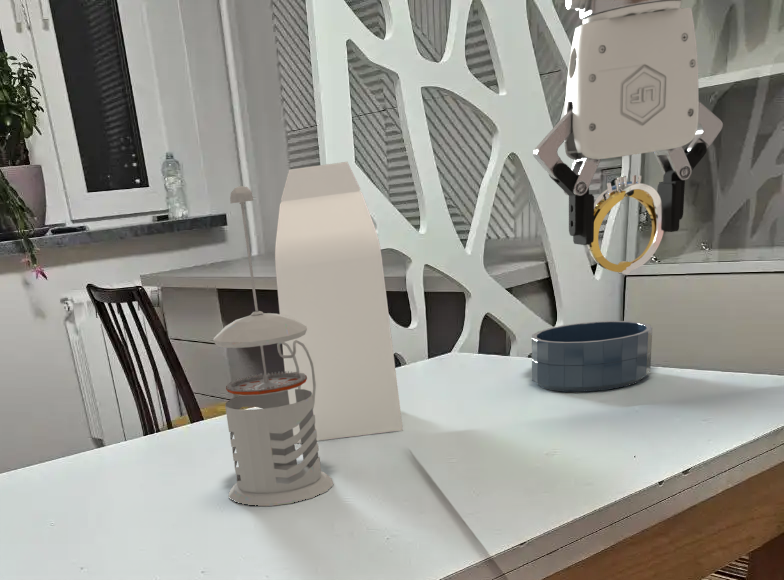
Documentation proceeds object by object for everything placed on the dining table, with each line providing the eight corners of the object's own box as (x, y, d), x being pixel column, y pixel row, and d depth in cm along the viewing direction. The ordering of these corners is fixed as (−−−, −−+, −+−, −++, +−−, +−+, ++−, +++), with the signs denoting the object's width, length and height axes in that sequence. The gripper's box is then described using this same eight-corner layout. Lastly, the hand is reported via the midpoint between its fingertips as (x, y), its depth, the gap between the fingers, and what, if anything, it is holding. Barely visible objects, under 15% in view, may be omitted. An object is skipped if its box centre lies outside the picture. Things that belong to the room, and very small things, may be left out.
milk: (291, 443, 97) (256, 173, 86) (291, 419, 107) (260, 174, 96) (402, 430, 97) (382, 155, 85) (392, 406, 107) (373, 159, 95)
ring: (594, 281, 81) (595, 181, 77) (580, 278, 84) (580, 182, 80) (669, 269, 81) (674, 169, 77) (653, 267, 84) (657, 170, 80)
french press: (206, 502, 82) (153, 197, 71) (275, 464, 91) (237, 187, 80) (298, 509, 77) (256, 182, 66) (361, 468, 86) (334, 173, 75)
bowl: (622, 362, 113) (623, 316, 111) (669, 382, 101) (672, 331, 99) (518, 377, 113) (517, 331, 110) (553, 398, 101) (553, 347, 99)
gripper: (540, 4, 69) (543, 254, 77) (761, -28, 70) (742, 224, 78) (511, 21, 76) (516, 249, 84) (713, -8, 77) (699, 222, 85)
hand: (625, 235), depth 81 cm, fingers closed on ring, 7 cm apart
